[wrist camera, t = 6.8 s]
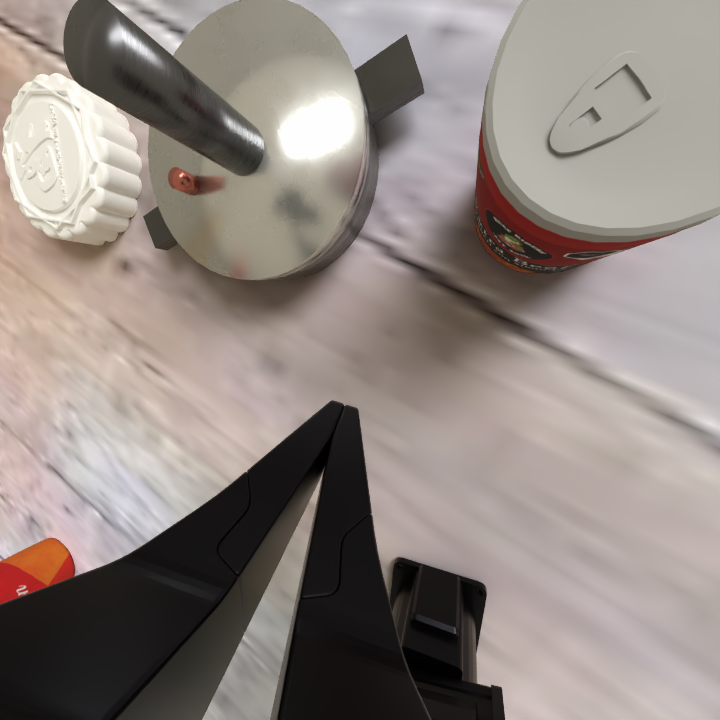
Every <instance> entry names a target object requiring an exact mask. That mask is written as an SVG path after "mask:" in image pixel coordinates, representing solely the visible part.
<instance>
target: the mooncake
mask: <svg viewBox="0 0 720 720" xmlns="http://www.w3.org/2000/svg"><path fill="white" fill-rule="evenodd" d="M3 135H4V147H3V151H2V156H3V158H4V161H5V169H6V172H7V175H8V176H9V177H10V180H11V182H10V188H11V191H12V194H13V195H14V200H15V201H17V202H18V204H19V208H20V210H21V212H22V213H23V214H24V215H25V216H26V217H29V219H30V222H31V224H32V225H33V226H34V227H35V228H36V229H38V230H41V231H44V233H45V234H46V235H47V236H49V237H51V238H55V239H61V240H67V241H73V242H79V243H85V244H92V245H103V244H104V243H105V241H109V242H112V241H115V240H116V239H117V237H118V234H119V232H124V231H126V230H127V228H128V226H129V218H131V217H133V216H134V215H135V214H136V211H137V200H136V199H137V198H138V197H139V196H140V194H141V190H142V184H141V180H140V178H139V176H140V174H141V170H142V163H141V159H140V157H139V156H138V155H137V154H136V153H137V148H138V145H137V140H136V138H135V136H134V135H133V134H132V133H131V132H129V124H128V121H127V119H126V118H125V117H124V116H123V115H122V114H120V113H118V112H117V109H116V107H115V106H114V105H113V104H111V103H109V102H107V101H106V100H104V99H102V98H100V97H99V96H97V95H95V94H93V93H92V92H90V91H88V90H86V89H85V88H83V87H81V86H80V85H79V84H78V83H77V82H75V81H72V80H70V79H68V78H66V77H65V76H63V75H61V74H58V73H54V74H52V75H50V76H48V75H45V74H39V75H37V76H36V77H35V79H34V80H33V81H32V82H27V83H25V84H24V85H23V87H22V89H19V91H18V95H17V97H15V98H14V99H13V102H12V113H11V114H10V115H9V116H8V117H7V119H6V124H5V126H4V128H3Z"/></svg>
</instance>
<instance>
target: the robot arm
mask: <svg viewBox="0 0 720 720" xmlns="http://www.w3.org/2000/svg"><path fill="white" fill-rule="evenodd" d="M323 471H324V472H323ZM322 473H323V477H322V481H321V485H320V490H319V495H318V499H317V504H316V509H315V513H314V518H313V523H312V527H311V532H310V537H309V541H308V546H307V551H306V555H305V560H304V565H303V569H302V574H301V579H300V583H299V588H298V593H297V597H296V602H295V607H294V611H293V616H292V620H291V625H290V630H289V634H288V639H287V644H286V649H285V653H284V658H283V662H282V667H281V672H280V676H279V681H278V686H277V690H276V695H275V700H274V704H273V709H272V714H271V718H270V720H505V714H504V705H503V695H502V687H498V686H494V685H491V687H489V686H485V685H480V684H477V662H476V653H477V647H478V641H479V636H480V630H481V624H482V619H483V613H484V608H485V602H486V596H487V593H486V587H485V585H484V584H483V583H481V582H478V581H475V580H472V579H468V578H465V577H462V576H459V575H456V574H453V573H449V572H446V571H443V570H440V569H437V568H433V567H430V566H427V565H424V564H421V563H417V562H414V561H411V560H408V559H405V558H397V559H396V560H395V564H394V571H393V580H392V589H391V598H390V601H389V597H388V593H387V589H386V585H385V582H384V578H383V573H382V569H381V564H380V560H379V555H378V551H377V544H376V538H375V532H374V525H373V517H372V515H371V513H372V511H371V503H370V495H369V488H368V480H367V472H366V465H365V457H364V449H363V442H362V434H361V426H360V419H359V411H358V409H357V408H355V407H352V406H349V405H345V406H344V404H343V403H340V402H337V401H330V402H329V403H328V404H326V405H325V406H324V407H323V408H322V409H320V410H319V411H318V412H317V413H316V414H314V415H313V416H312V417H311V418H310V419H308V420H307V421H306V422H305V423H304V424H302V425H301V426H300V427H299V428H298V429H296V430H295V431H294V432H293V433H292V434H290V435H289V436H288V437H287V438H286V439H284V440H283V441H282V442H281V443H280V444H279V445H277V446H276V447H275V448H274V449H273V450H271V451H270V452H269V453H268V454H267V455H265V456H264V457H263V458H262V459H261V460H259V461H258V462H257V463H256V464H255V465H253V466H252V467H251V468H250V469H249V470H248V471H247V472H245V473H244V474H242V475H241V476H240V477H239V478H238V479H236V480H235V481H234V482H233V483H231V484H230V485H229V486H228V487H226V488H225V489H224V490H223V491H221V492H220V493H219V494H218V495H216V496H215V497H213V498H212V499H211V500H209V501H208V502H206V503H205V504H203V505H202V506H201V507H199V508H198V509H196V510H195V511H193V512H192V513H190V514H189V515H187V516H186V517H184V518H183V519H181V520H180V521H178V522H177V523H176V524H174V525H173V526H171V527H170V528H168V529H167V530H165V531H164V532H162V533H161V534H159V535H158V536H156V537H155V538H153V539H152V540H150V541H149V542H147V543H146V544H144V545H143V546H141V547H140V548H138V549H136V550H135V551H133V552H131V553H129V554H128V555H126V556H124V557H122V558H120V559H118V560H116V561H114V562H111V563H109V564H107V565H104V566H102V567H99V568H96V569H94V570H91V571H88V572H85V573H83V574H80V575H77V576H75V577H72V578H69V579H67V580H64V581H61V582H58V583H56V584H53V585H50V586H48V587H45V588H42V589H39V590H37V591H34V592H31V593H29V594H26V595H23V596H20V597H18V598H15V599H12V600H10V601H7V602H4V603H1V604H0V720H202V719H203V716H204V714H205V712H206V710H207V708H208V706H209V704H210V702H211V700H212V698H213V696H214V694H215V692H216V690H217V688H218V686H219V684H220V682H221V680H222V678H223V676H224V674H225V672H226V670H227V668H228V666H229V664H230V661H231V659H232V657H233V655H234V653H235V651H236V649H237V647H238V645H239V643H240V641H241V639H242V637H243V635H244V632H245V631H246V629H247V627H248V625H249V623H250V621H251V619H252V617H253V614H254V612H255V610H256V608H257V606H258V604H259V602H260V600H261V598H262V596H263V594H264V592H265V590H266V588H267V586H268V584H269V582H270V580H271V578H272V576H273V574H274V572H275V570H276V568H277V566H278V564H279V562H280V559H281V557H282V555H283V553H284V551H285V549H286V547H287V545H288V543H289V541H290V539H291V537H292V535H293V533H294V531H295V529H296V527H297V525H298V523H299V521H300V519H301V517H302V515H303V513H304V511H305V509H306V506H307V504H308V502H309V500H310V498H311V496H312V494H313V492H314V490H315V488H316V486H317V484H318V482H319V480H320V478H321V476H322ZM399 564H400V565H403V567H402V566H400V565H399ZM477 589H478V590H481V591H477Z"/></svg>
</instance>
